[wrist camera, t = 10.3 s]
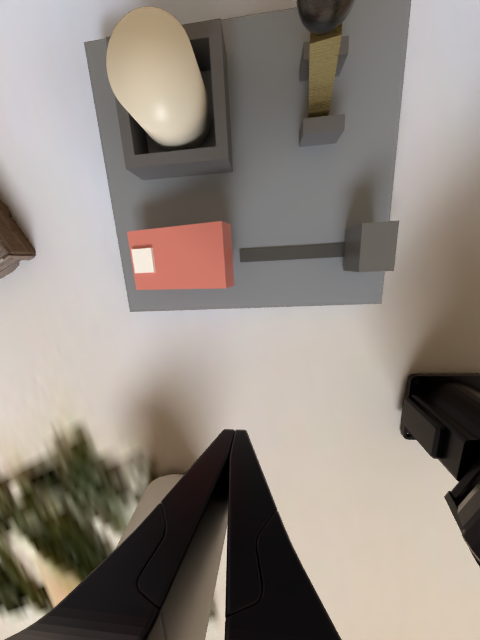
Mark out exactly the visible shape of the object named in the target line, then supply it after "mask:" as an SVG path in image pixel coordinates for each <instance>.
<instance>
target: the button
mask: <svg viewBox="0 0 480 640" xmlns="http://www.w3.org/2000/svg"><path fill="white" fill-rule="evenodd" d="M106 67H107V74H108V79H109V82H110V85H111V88H112V90H113V93H114V94H115V96H116V98H117V99H118V101H119V102H120V103H121V105H122V106H123V107H124V108H125V109H126V110H127V111H128V112H129V113H130V115H131V116H132V117H133V118H134V119H135V120H136V121H137V122H138V123H139V125H140V126H141V127H142V128H143V129H144V130H145V131H146V132H147V133H148V135H149V136H150V137H151V138H152V139H153V140H154V141H155V142H156V143H157V145H158V146H159V147H161V148H162V149H163V150H165V151H167V152H168V151H177V150H187V149H196V148H198V147H199V146H200V145H201V144H202V143H203V142H204V140H205V139H206V137H207V135H208V133H209V130H210V126H211V119H212V111H211V105H210V101H209V98H208V95H207V92H206V89H205V86H204V83H203V80H202V76H201V73H200V70H199V67H198V64H197V61H196V58H195V55H194V52H193V49H192V46H191V43H190V40H189V38H188V36H187V34H186V32H185V30H184V28H183V27H182V25H181V24H180V23H179V22H178V20H177V19H176V18H174V17H173V16H172V15H171V14H169V13H168V12H166V11H164V10H162V9H160V8H156V7H141V8H137V9H135V10H133V11H131V12H129V13H128V14H126V15H125V16H124V17H123V18H122V19H121V20H120V21H119V23H118V24H117V25H116V27H115V29H114V30H113V32H112V35H111V37H110V40H109V43H108V48H107V56H106Z"/></svg>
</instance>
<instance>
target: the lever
mask: <svg viewBox="0 0 480 640" xmlns="http://www.w3.org/2000/svg"><path fill="white" fill-rule="evenodd" d="M355 1H356V0H297V8H298V13H299V17H300V20H301V22H302V24H303V26H304V27H305V28H306V29H307V30H308V31H309V32H310V53H309V109H308V118H313V117H322V116H329V111H330V104H331V98H332V92H333V86H334V80H335V73H336V67H337V61H338V55H339V48H340V42H341V36H342V23H343V21H344V20H345V19H346V18H347V16H348V15H349V13H350V11H351V9H352V7H353V5H354V3H355Z"/></svg>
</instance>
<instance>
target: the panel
mask: <svg viewBox="0 0 480 640" xmlns="http://www.w3.org/2000/svg"><path fill="white" fill-rule="evenodd" d="M410 7H411V0H356V1H355V3H354V5H353V7H352V9H351V11H350V13H349V15H348V16H347V18H346V19H345V20H344V21H343V23H342V36H341V42H340V48H339V55H338V61H337V67H336V73H335V80H334V86H333V92H332V98H331V104H330V111H329V116H322V117H313V118H308V109H309V53H310V32H309V31H308V30H307V29H306V28H305V27H304V26H303V24H302V22H301V20H300V17H299V13H298V8H291V9H285V10H279V11H272V12H266V13H260V14H254V15H248V16H242V17H236V18H229V19H223V20H221V19H215V20H209V21H203V22H197V23H190V24H184V25H182V27H183V28H184V30H185V32H186V34H187V36H188V38H189V40H190V43H191V46H192V49H193V52H194V55H195V58H196V61H197V64H198V67H199V70H200V73H201V76H202V80H203V83H204V86H205V89H206V92H207V95H208V98H209V101H210V105H211V111H212V119H211V126H210V130H209V133H208V135H207V137H206V139H205V140H204V142H203V143H202V144H201V145H200V146H199V147H198V148H196V149H187V150H177V151H168V152H167V151H165V150H163V149H162V148H161V147H159V146H158V145H157V143H156V142H155V141H154V140H153V139H152V138H151V137H150V136H149V135H148V133H147V132H146V131H145V130H144V129H143V128H142V127H141V126H140V125H139V123H138V122H137V121H136V120H135V119H134V118H133V117H132V116H131V115H130V113H129V112H128V111H127V110H126V109H125V108H124V107H123V106H122V105H121V103H120V102H119V101H118V99H117V98H116V96H115V94H114V93H113V90H112V88H111V85H110V82H109V79H108V74H107V67H106V56H107V48H108V43H109V40H110V37H106V39H100V40H94V41H88V42H84V45H85V51H86V56H87V62H88V68H89V74H90V80H91V86H92V91H93V97H94V103H95V109H96V115H97V121H98V127H99V132H100V138H101V144H102V150H103V156H104V162H105V168H106V173H107V179H108V185H109V191H110V197H111V203H112V208H113V214H114V220H115V226H116V232H117V238H118V244H119V249H120V255H121V261H122V267H123V273H124V279H125V284H126V290H127V296H128V302H129V308H130V312H139V311H170V310H200V309H231V308H261V307H292V306H322V305H353V304H381V302H382V292H383V282H384V272H385V271H375V272H352V271H344V270H343V266H344V248H345V230H346V229H348V228H351V227H353V226H356V225H359V224H361V223H371V222H386V221H390V211H391V201H392V190H393V180H394V170H395V160H396V150H397V140H398V129H399V119H400V109H401V99H402V89H403V78H404V68H405V58H406V48H407V38H408V28H409V17H410ZM217 221H223V222H226V223H228V224H231V237H232V255H233V272H234V286H232V287H229V288H218V289H162V290H136V285H135V279H134V273H133V267H132V260H131V254H130V248H129V242H128V235H127V232H128V231H137V230H146V229H155V228H163V227H172V226H181V225H190V224H199V223H208V222H217Z"/></svg>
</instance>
